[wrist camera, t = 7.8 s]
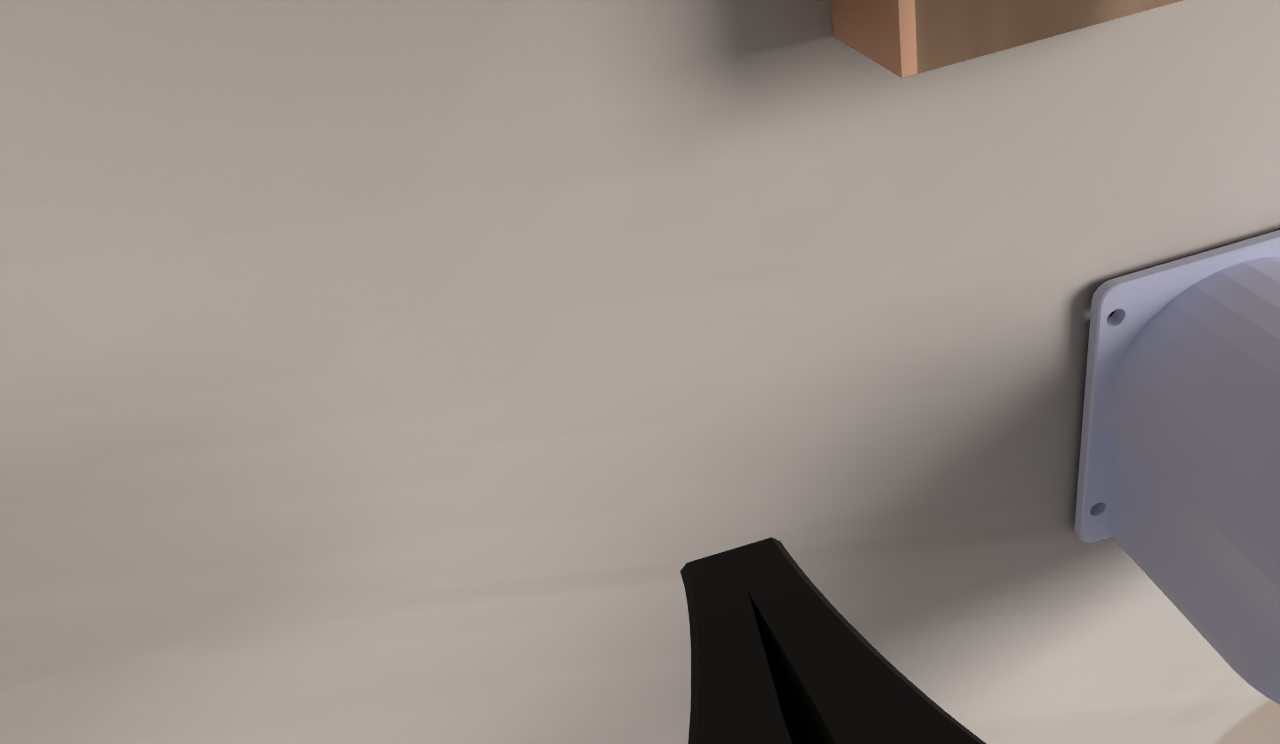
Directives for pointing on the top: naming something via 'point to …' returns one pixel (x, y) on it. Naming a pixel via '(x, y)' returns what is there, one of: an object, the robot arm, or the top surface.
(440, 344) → the top surface
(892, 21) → the walnut block
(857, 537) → the top surface
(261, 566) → the top surface
